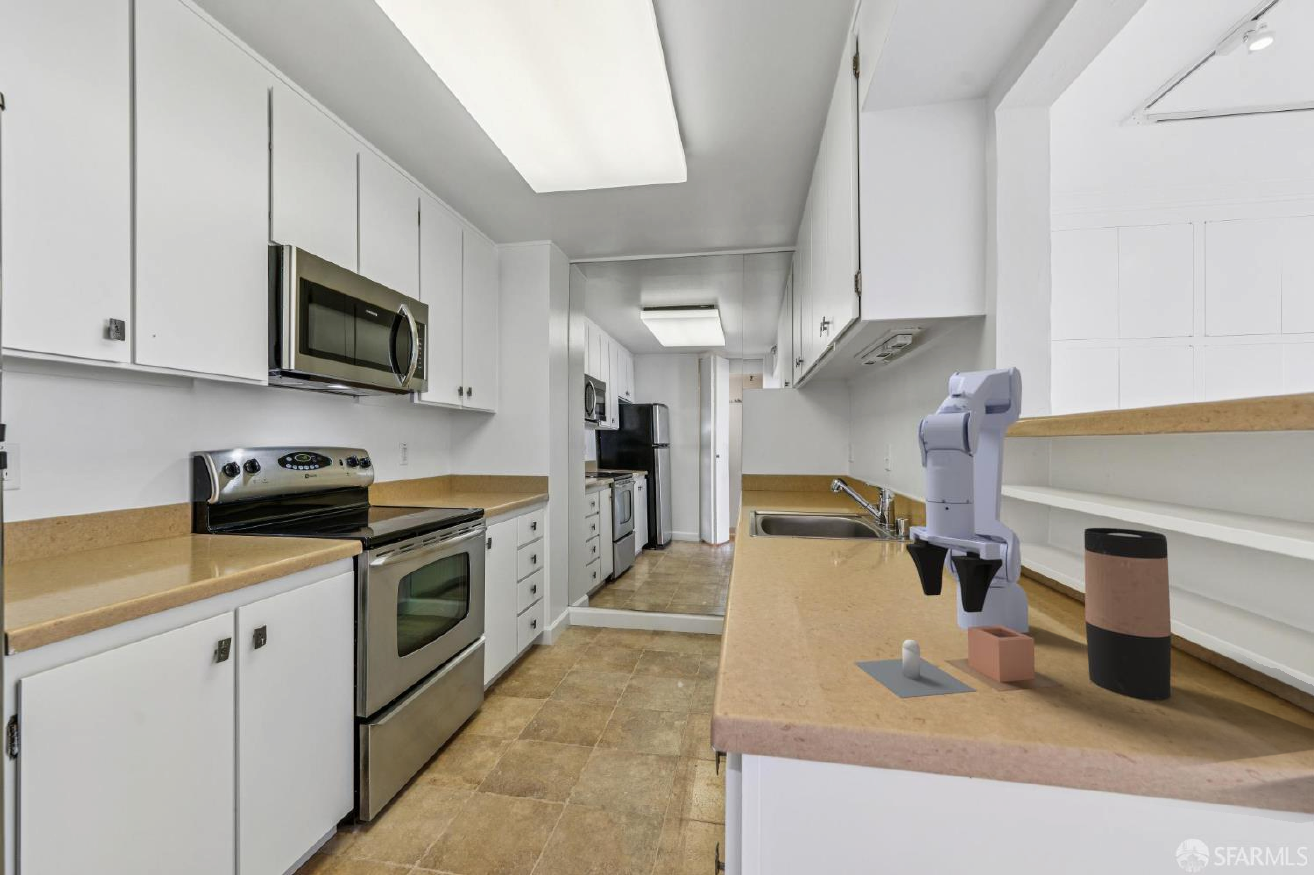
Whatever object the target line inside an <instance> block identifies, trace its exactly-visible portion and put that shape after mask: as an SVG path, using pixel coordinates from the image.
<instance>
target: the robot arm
mask: <svg viewBox="0 0 1314 875" xmlns="http://www.w3.org/2000/svg"><path fill="white" fill-rule="evenodd" d="M948 382H949V383H948V394H949V395H948V396H947V397H946V398H945V399H944V400H943V402H942V403H941V405H940V406H939V407H938V408H937V410H936V411H935V413H929V414H927V415H926V416H925V418H924V417H922V418H921V419H920V421H919V424H918V430H917V438H918V440H917V441H918V447H919V450H920V456H921V457H920V458H921V466H922V468H925V469H924V470H925V471H924V473H925V475H924V476H925V517H926V519H925V523H926V524H925V526H922V525H921V526H917V525H916V526H909V540H910V541H914V542H913V543H907V544H905V549H906V551H907V552H908V554H909V555H910V557H911V559H912V561H913V563H914V565H915V568H916V571H917V573H918V577H919V580H920V584H921V587H922V592H923V594H924V595H925V596H928V597H930V596H941V592H942V588H943V576H944V575H943V574H944V573H943V572H944V566H945V568H946V570H947V572H948V574H950V575H952V577H953V580H956V606H957V607H956V610H957V614H956V616H957V618H956V619H957V620H956V621H957V626H958V627H959V628H960V629H962V630H964V631H966V632H968V627H982V626H997V625H1001V626H1004V627H1006V628H1009V629H1011V630H1014V631H1016V632H1019V633H1021V634H1024V633H1029V632H1030V630H1029V602H1028V601H1029V600H1028V596H1027V594H1026V591H1025V590H1024V588H1022V586H1021V585H1020V584H1018V583H1017V582H1018V581H1019V580H1020V578H1021V571H1022V570H1021V569H1022V568H1021V567H1022V559H1021V558H1022V556H1021V555H1022V554H1021V549H1020V548H1021V546H1020V543H1021V542H1020V538H1019V537H1018V535H1017V533H1016V532H1015V531H1014V530H1013V529H1011V528H1009V527H1008V526H1007V525H1005V524H1004V523H1003V522H1001V508H1002V507H1001V506H1002V504H1001V502H1002V486H1003V466H1004V465H1003V464H1004V447H1005V445H1004V444H1005V443H1004V442H1005V438H1006V435H1007V430H1008V428H1009V426H1011V425H1013V424H1014V423H1017V422H1019V421H1020V415H1021V414H1022V398H1023V397H1022V396H1023V395H1022V394H1023V383H1022V382H1023V380H1022V374H1021V372H1020V370H1019V369H1018V368H1017V367H1015V366H1012V367H1010V368H1009V367H1008V368H999V369H988V370H979V371H978V370H977V371H967V372H954V373H953V374H952V375H951V376H950V378H949V381H948Z"/></svg>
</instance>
